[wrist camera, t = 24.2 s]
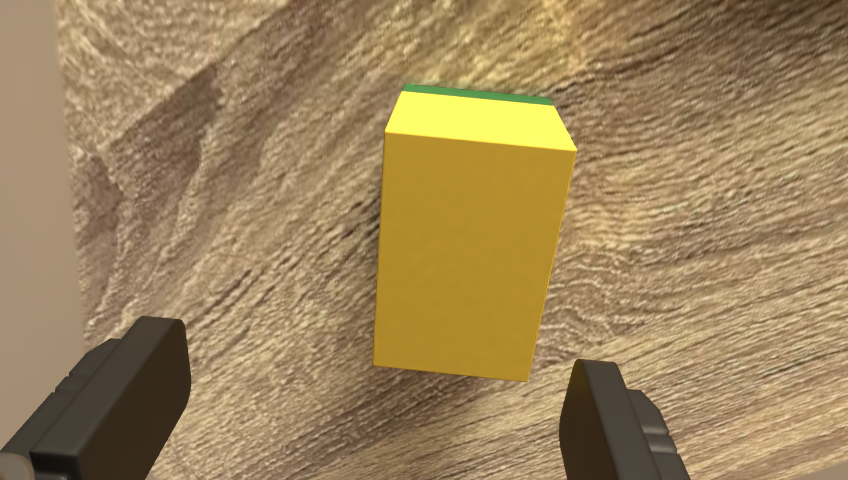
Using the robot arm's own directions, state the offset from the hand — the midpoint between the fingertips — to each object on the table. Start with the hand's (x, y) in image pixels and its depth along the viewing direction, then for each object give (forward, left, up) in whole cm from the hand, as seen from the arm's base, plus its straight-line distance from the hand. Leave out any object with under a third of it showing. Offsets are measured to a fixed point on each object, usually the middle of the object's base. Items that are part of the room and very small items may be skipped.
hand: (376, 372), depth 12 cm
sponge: (+2, +1, -9) cm, 9 cm away
